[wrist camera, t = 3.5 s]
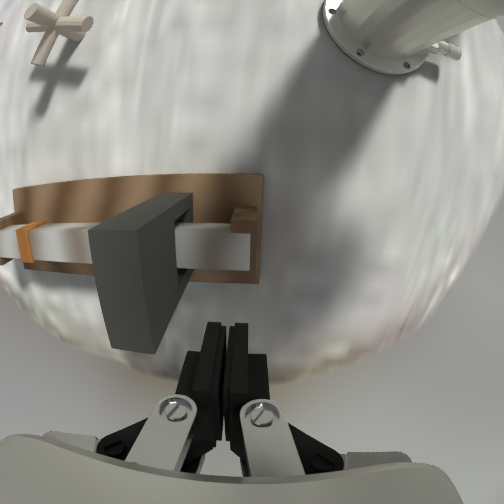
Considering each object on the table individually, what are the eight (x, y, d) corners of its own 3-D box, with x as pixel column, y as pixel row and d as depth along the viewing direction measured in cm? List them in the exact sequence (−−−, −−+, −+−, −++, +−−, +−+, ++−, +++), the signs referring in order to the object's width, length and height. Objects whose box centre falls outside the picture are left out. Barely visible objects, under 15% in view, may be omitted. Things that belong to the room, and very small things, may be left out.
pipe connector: (90, 76, 22) (35, 57, 13) (38, 69, 21) (-14, 57, 12) (129, 4, 19) (91, -35, 10) (72, 3, 18) (30, -23, 9)
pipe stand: (262, 174, 26) (266, 181, 20) (258, 279, 30) (260, 316, 23) (17, 188, 26) (-21, 199, 19) (28, 266, 30) (-3, 287, 23)
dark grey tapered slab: (192, 192, 26) (136, 230, 13) (195, 267, 28) (154, 354, 15) (162, 192, 26) (87, 230, 13) (166, 266, 28) (111, 348, 15)
